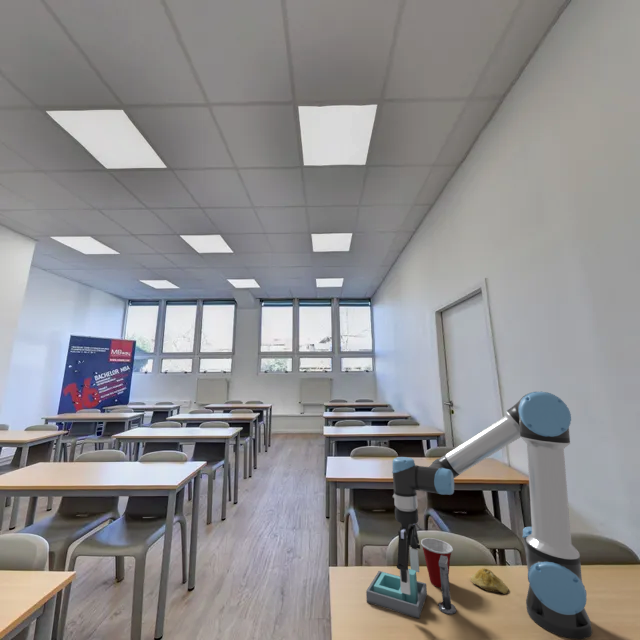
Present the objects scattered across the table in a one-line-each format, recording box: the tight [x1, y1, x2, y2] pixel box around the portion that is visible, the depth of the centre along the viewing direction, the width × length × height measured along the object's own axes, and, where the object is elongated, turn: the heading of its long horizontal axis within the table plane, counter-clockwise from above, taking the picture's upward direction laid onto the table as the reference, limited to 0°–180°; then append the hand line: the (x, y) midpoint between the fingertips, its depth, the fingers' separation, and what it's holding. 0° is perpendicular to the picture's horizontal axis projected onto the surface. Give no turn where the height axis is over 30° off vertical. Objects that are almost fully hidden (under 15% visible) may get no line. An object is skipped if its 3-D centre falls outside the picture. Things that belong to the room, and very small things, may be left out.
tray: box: [365, 570, 428, 620], centre depth 100 cm, size 16×13×3 cm
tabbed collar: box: [374, 568, 418, 604], centre depth 101 cm, size 12×9×8 cm
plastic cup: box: [420, 537, 454, 589], centre depth 109 cm, size 11×11×12 cm
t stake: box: [438, 555, 457, 616], centre depth 96 cm, size 5×5×13 cm
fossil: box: [470, 567, 509, 595], centre depth 107 cm, size 11×6×10 cm
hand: (410, 581), depth 99 cm, fingers open, 13 cm apart
